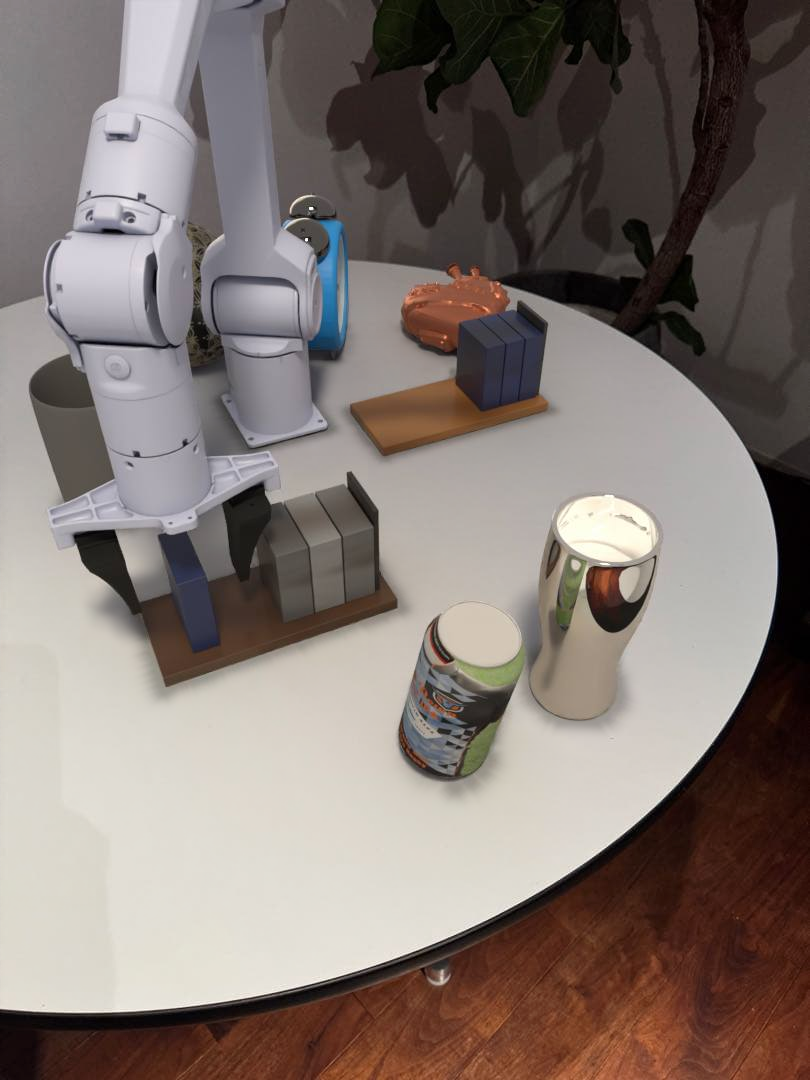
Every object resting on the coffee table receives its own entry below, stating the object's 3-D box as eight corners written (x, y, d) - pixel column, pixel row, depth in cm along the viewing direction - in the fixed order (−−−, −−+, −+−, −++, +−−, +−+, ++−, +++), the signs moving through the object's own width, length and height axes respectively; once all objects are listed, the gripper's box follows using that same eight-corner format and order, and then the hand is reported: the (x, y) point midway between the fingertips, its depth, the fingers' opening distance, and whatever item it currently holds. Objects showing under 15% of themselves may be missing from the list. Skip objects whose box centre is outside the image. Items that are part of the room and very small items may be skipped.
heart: (531, 305, 90) (486, 248, 101) (418, 326, 89) (385, 266, 99) (529, 356, 94) (487, 295, 105) (421, 377, 93) (390, 313, 103)
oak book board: (350, 412, 86) (346, 330, 80) (506, 371, 92) (514, 292, 86) (383, 456, 81) (382, 372, 75) (547, 410, 87) (559, 329, 81)
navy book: (173, 603, 66) (157, 534, 61) (199, 595, 66) (185, 526, 62) (193, 654, 62) (177, 585, 57) (220, 645, 63) (206, 576, 58)
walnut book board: (139, 611, 66) (114, 522, 60) (356, 543, 72) (353, 456, 66) (165, 687, 61) (140, 598, 55) (397, 607, 67) (398, 519, 61)
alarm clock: (339, 375, 91) (333, 236, 81) (281, 373, 92) (267, 234, 81) (350, 314, 101) (345, 183, 91) (297, 313, 101) (286, 182, 91)
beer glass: (560, 741, 58) (594, 583, 48) (504, 668, 63) (525, 509, 52) (642, 702, 60) (692, 544, 50) (583, 635, 65) (617, 477, 55)
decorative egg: (265, 376, 91) (249, 237, 81) (152, 399, 88) (121, 256, 78) (237, 324, 99) (219, 192, 89) (132, 344, 96) (102, 208, 86)
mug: (173, 522, 74) (146, 403, 66) (61, 536, 73) (19, 416, 64) (171, 430, 84) (147, 317, 76) (72, 441, 82) (37, 327, 74)
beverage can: (394, 711, 60) (395, 589, 52) (500, 705, 60) (517, 583, 52) (402, 793, 55) (404, 673, 47) (517, 785, 56) (538, 665, 48)
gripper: (37, 500, 47) (95, 661, 57) (289, 435, 52) (304, 593, 61) (20, 432, 52) (75, 591, 61) (252, 378, 57) (271, 533, 66)
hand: (188, 588), depth 62 cm, fingers open, 7 cm apart
